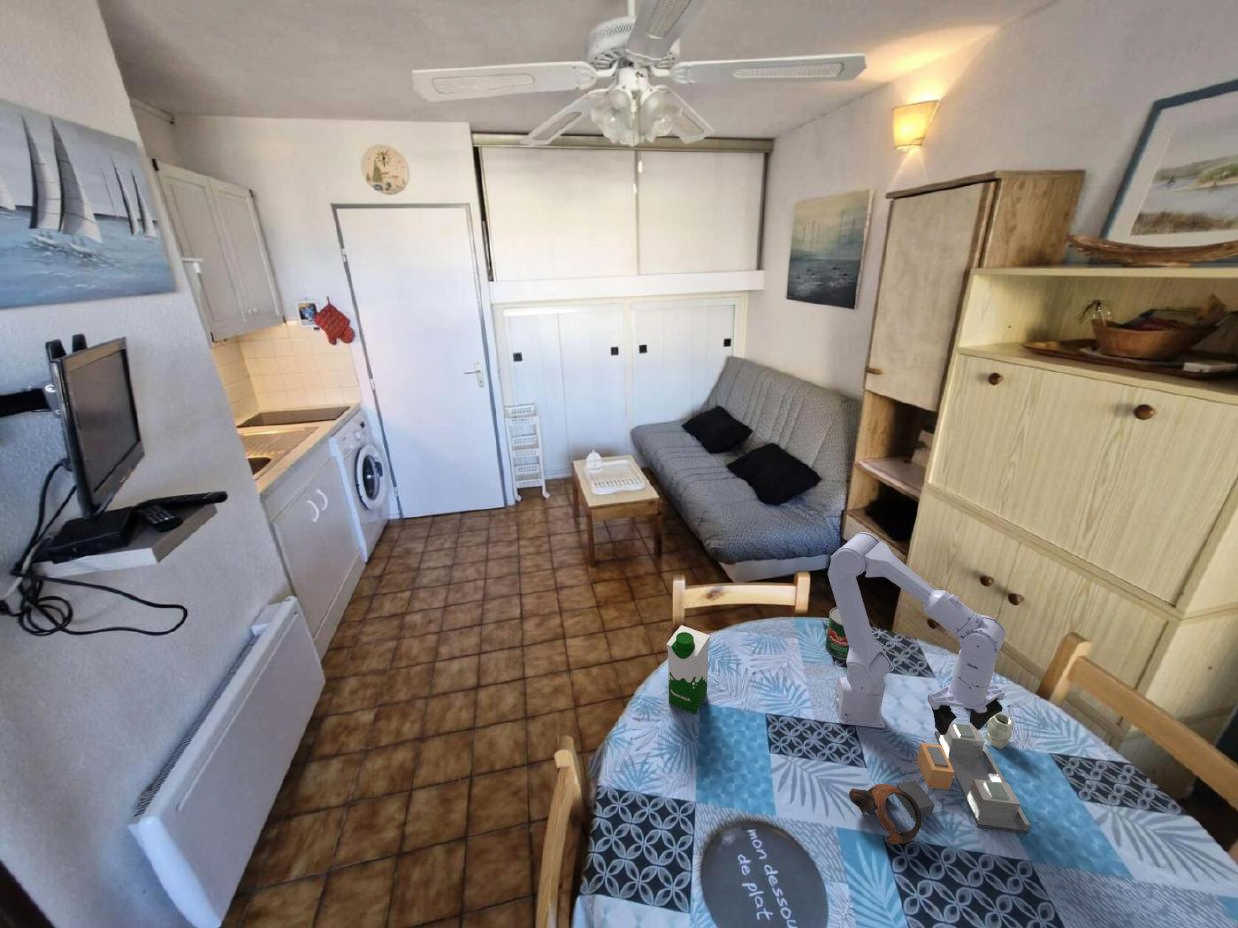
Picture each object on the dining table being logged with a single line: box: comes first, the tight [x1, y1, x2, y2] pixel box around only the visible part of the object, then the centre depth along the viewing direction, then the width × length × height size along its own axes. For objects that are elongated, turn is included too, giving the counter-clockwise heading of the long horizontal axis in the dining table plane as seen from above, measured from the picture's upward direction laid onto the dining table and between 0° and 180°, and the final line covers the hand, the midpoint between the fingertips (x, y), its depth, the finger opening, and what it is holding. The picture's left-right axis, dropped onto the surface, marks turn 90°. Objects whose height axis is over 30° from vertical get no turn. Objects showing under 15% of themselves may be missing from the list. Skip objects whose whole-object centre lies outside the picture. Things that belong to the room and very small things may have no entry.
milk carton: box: [666, 624, 711, 715], centre depth 120 cm, size 9×9×20 cm
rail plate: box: [934, 722, 1031, 835], centre depth 100 cm, size 8×20×6 cm, turn 170°
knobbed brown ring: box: [848, 783, 923, 846], centre depth 94 cm, size 12×10×8 cm
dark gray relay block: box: [894, 779, 936, 820], centre depth 97 cm, size 4×5×3 cm
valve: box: [984, 712, 1015, 750], centre depth 111 cm, size 7×7×12 cm
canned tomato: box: [824, 606, 849, 661], centre depth 134 cm, size 8×8×11 cm
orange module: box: [916, 742, 955, 791], centre depth 102 cm, size 4×6×5 cm, turn 170°
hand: (957, 728), depth 101 cm, fingers open, 7 cm apart
